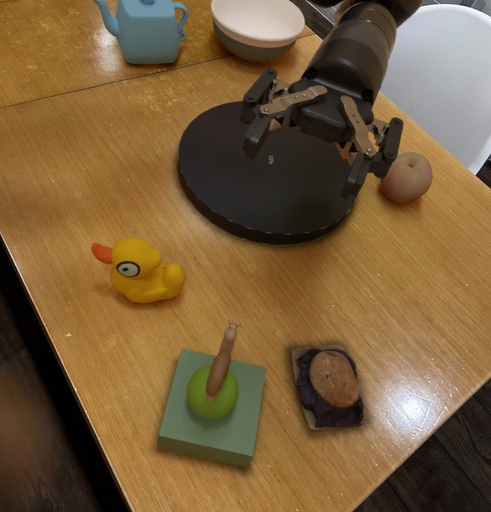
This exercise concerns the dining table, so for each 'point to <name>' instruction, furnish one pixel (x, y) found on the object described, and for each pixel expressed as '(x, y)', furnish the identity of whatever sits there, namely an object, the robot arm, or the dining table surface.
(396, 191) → the fruit
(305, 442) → the dining table surface
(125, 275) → the duckling
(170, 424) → the green block
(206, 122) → the disc
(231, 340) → the snail figurine
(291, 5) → the bowl
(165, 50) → the teapot
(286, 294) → the dining table surface
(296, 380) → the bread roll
